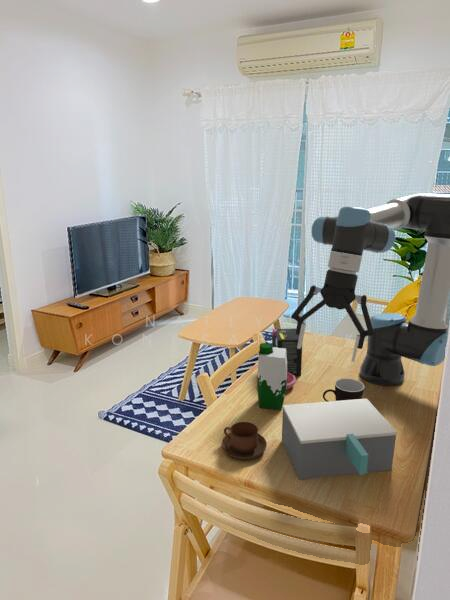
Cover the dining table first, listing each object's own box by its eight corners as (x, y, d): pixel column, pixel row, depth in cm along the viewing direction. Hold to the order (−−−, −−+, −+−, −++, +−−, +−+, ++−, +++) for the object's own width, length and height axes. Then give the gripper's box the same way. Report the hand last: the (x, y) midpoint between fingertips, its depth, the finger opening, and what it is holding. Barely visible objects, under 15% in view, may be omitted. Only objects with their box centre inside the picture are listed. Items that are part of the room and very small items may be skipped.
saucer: (258, 377, 159) (258, 369, 158) (293, 377, 159) (293, 369, 158) (260, 394, 147) (260, 385, 146) (297, 394, 147) (297, 385, 146)
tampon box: (270, 364, 169) (271, 328, 165) (294, 363, 170) (295, 327, 166) (276, 377, 159) (277, 339, 155) (301, 376, 160) (303, 338, 155)
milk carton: (259, 395, 146) (260, 339, 140) (286, 398, 144) (288, 341, 139) (255, 409, 138) (256, 350, 132) (284, 412, 136) (286, 352, 130)
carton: (363, 433, 125) (366, 402, 122) (391, 470, 110) (396, 435, 107) (281, 440, 122) (282, 408, 119) (298, 479, 107) (300, 444, 104)
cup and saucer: (218, 461, 114) (218, 440, 112) (225, 434, 125) (225, 415, 123) (264, 465, 112) (265, 444, 110) (267, 438, 123) (268, 419, 122)
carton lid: (365, 412, 123) (367, 396, 122) (413, 469, 100) (415, 450, 98) (282, 419, 120) (282, 402, 119) (311, 479, 97) (312, 460, 95)
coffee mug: (362, 409, 137) (365, 380, 134) (361, 424, 129) (363, 393, 127) (324, 403, 141) (326, 375, 138) (321, 417, 133) (322, 387, 130)
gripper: (290, 262, 108) (274, 345, 111) (396, 281, 101) (376, 369, 104) (295, 262, 115) (280, 339, 118) (395, 280, 108) (376, 362, 111)
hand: (325, 354), depth 111 cm, fingers open, 13 cm apart
